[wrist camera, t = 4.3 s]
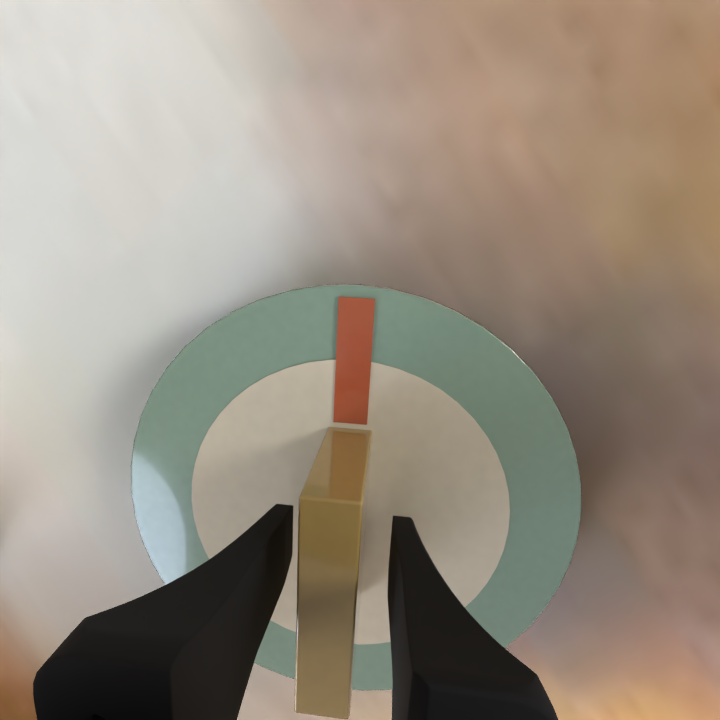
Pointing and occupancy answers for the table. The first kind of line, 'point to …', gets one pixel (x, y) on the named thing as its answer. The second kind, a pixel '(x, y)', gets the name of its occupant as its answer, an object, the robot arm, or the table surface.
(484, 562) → the dial knob
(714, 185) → the table surface
